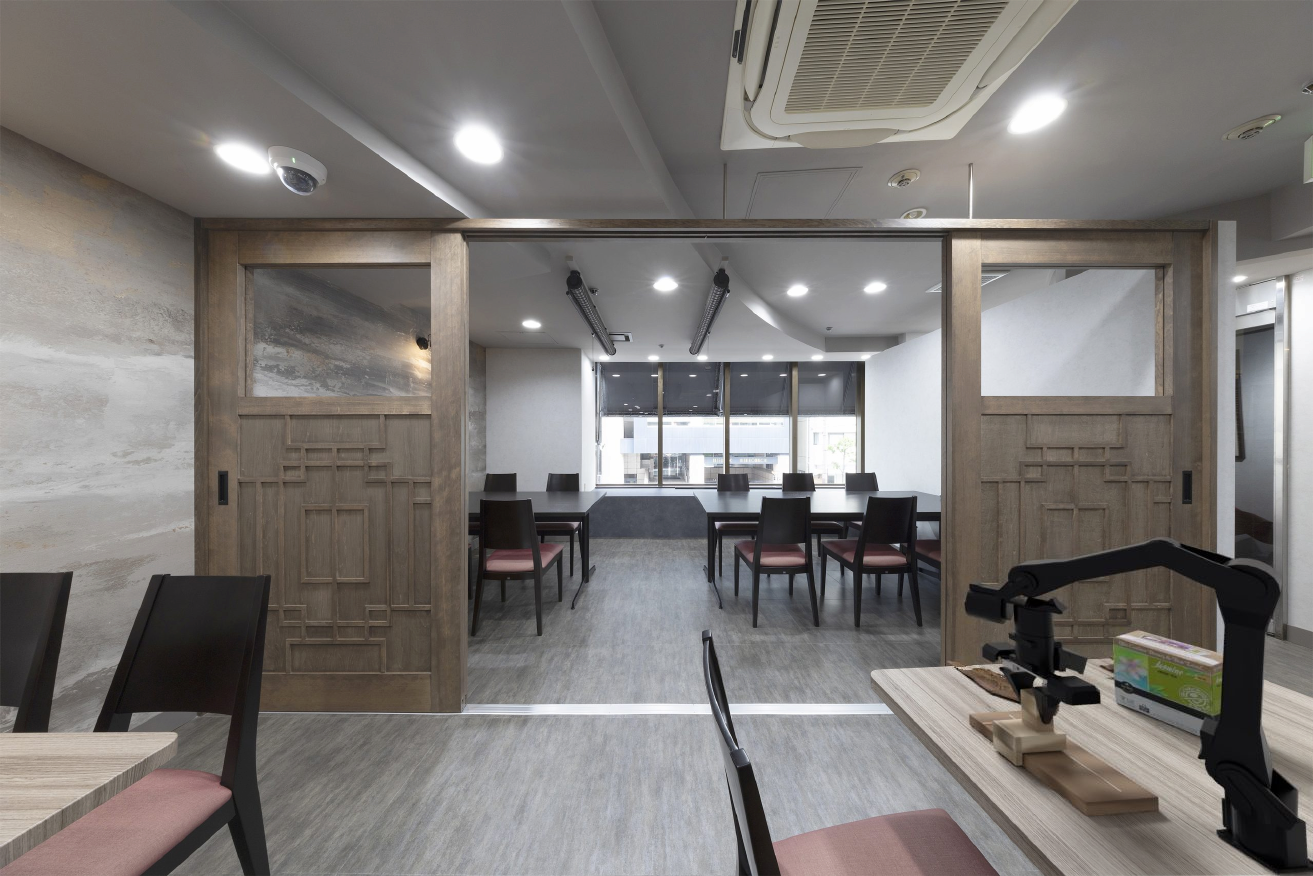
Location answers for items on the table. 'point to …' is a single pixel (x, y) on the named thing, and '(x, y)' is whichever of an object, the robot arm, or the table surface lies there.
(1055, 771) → the walnut board
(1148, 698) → the tea box
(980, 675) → the wooden fragment
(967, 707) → the table surface
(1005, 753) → the block
